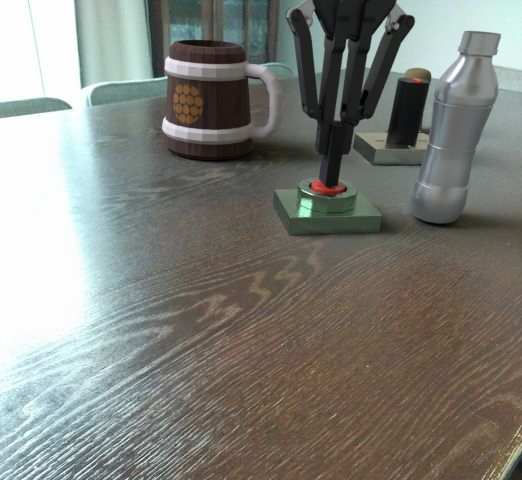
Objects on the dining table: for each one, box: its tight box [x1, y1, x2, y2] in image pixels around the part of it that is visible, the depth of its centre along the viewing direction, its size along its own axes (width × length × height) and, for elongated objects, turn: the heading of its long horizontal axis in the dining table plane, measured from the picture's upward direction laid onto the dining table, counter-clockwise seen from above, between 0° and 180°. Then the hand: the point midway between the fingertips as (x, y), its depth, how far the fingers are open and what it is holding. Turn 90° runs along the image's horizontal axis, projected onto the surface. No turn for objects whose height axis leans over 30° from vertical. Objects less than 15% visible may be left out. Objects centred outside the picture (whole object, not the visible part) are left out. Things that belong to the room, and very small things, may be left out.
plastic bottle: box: [409, 30, 502, 224], centre depth 56 cm, size 6×7×20 cm
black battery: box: [386, 77, 431, 144], centre depth 80 cm, size 5×5×9 cm
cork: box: [402, 67, 432, 133], centre depth 96 cm, size 6×6×11 cm
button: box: [311, 179, 345, 194], centre depth 59 cm, size 4×4×2 cm
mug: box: [161, 39, 284, 161], centre depth 77 cm, size 20×15×15 cm
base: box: [352, 132, 429, 166], centre depth 84 cm, size 13×10×3 cm
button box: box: [272, 176, 383, 236], centre depth 60 cm, size 11×9×4 cm
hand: (328, 182), depth 58 cm, fingers closed
